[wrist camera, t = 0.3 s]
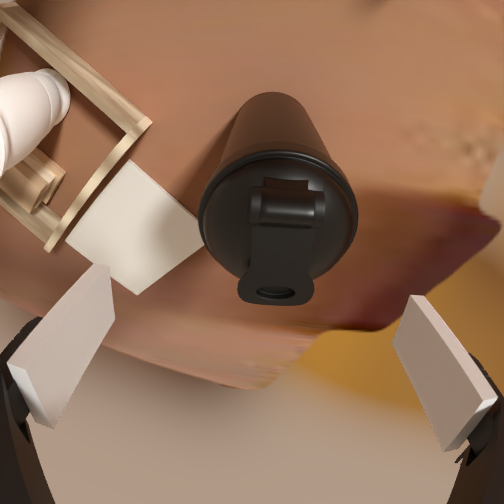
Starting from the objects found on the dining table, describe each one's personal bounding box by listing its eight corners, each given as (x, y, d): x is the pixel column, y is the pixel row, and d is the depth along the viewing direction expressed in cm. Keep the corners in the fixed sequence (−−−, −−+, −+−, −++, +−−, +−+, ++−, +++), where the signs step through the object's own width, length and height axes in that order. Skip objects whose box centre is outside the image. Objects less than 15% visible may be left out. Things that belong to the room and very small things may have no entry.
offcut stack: (-10, 103, 31) (-36, 118, 27) (67, 171, 39) (46, 193, 35) (-20, 132, 34) (-44, 149, 29) (52, 196, 42) (32, 219, 38)
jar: (63, 46, 28) (-22, 75, 16) (89, 115, 34) (19, 170, 23) (9, 82, 30) (-68, 125, 18) (35, 143, 36) (-32, 201, 25)
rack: (15, 2, 22) (-15, 6, 17) (152, 122, 35) (135, 140, 30) (-41, 129, 33) (-65, 145, 28) (65, 228, 46) (49, 253, 41)
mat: (129, 159, 38) (128, 160, 38) (215, 234, 46) (215, 236, 45) (65, 238, 47) (64, 240, 47) (137, 293, 55) (137, 295, 54)
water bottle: (227, 163, 38) (194, 314, 21) (229, 82, 32) (180, 172, 14) (310, 169, 39) (346, 322, 21) (321, 89, 32) (394, 189, 14)
